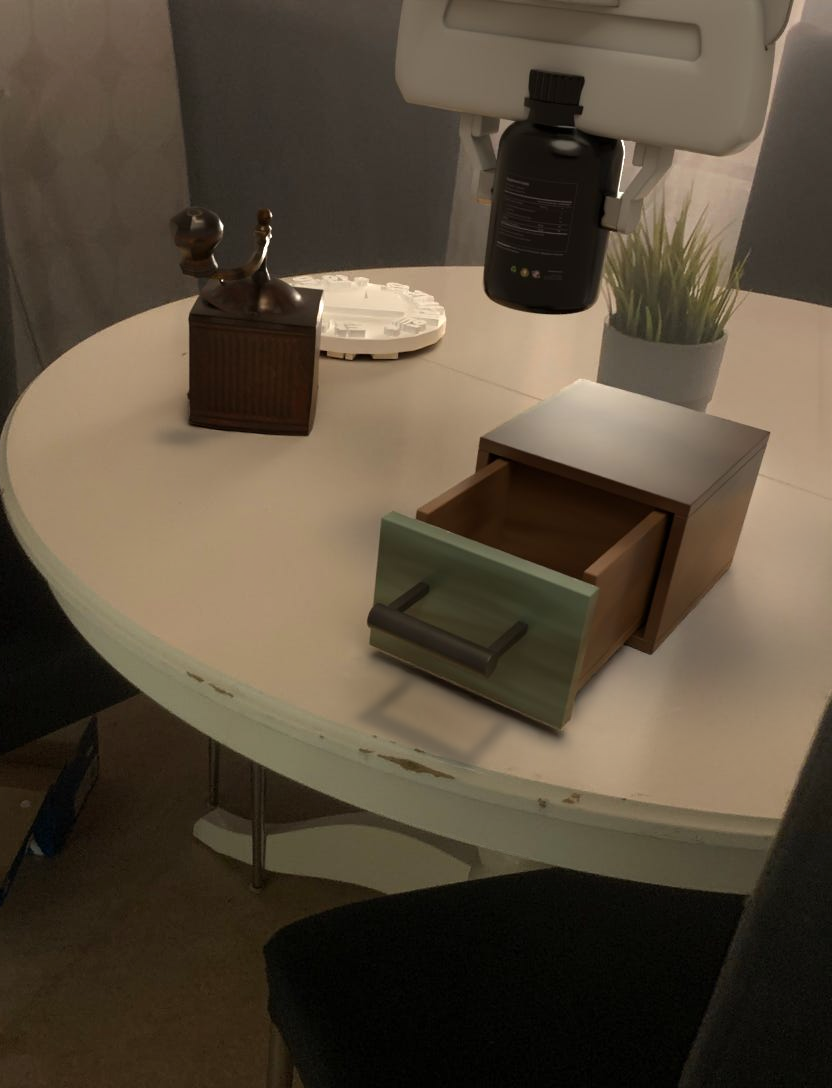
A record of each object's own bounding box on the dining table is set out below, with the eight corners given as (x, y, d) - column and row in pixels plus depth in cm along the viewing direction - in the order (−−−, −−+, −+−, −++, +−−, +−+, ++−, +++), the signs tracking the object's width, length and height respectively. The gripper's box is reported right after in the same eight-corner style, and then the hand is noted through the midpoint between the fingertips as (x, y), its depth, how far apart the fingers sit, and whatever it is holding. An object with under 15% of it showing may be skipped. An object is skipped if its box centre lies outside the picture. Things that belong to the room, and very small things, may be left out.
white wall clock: (296, 290, 126) (298, 263, 125) (464, 320, 122) (467, 293, 120) (220, 339, 110) (221, 310, 109) (410, 376, 106) (413, 345, 104)
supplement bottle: (503, 275, 69) (533, 56, 62) (610, 296, 66) (655, 72, 60) (461, 301, 63) (490, 65, 57) (577, 325, 61) (621, 82, 54)
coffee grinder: (198, 381, 101) (197, 168, 91) (320, 391, 101) (332, 180, 91) (166, 451, 88) (162, 211, 78) (307, 462, 88) (320, 225, 78)
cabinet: (651, 655, 68) (691, 505, 62) (459, 579, 74) (479, 436, 68) (731, 566, 78) (770, 431, 73) (556, 506, 84) (581, 377, 79)
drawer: (517, 776, 56) (545, 638, 51) (318, 682, 61) (327, 549, 57) (656, 627, 69) (688, 505, 64) (482, 560, 74) (500, 444, 70)
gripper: (828, -59, 52) (750, 244, 60) (454, -89, 61) (428, 177, 69) (787, -63, 48) (708, 265, 55) (391, -95, 57) (370, 190, 65)
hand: (550, 216), depth 62 cm, fingers closed on supplement bottle, 7 cm apart
